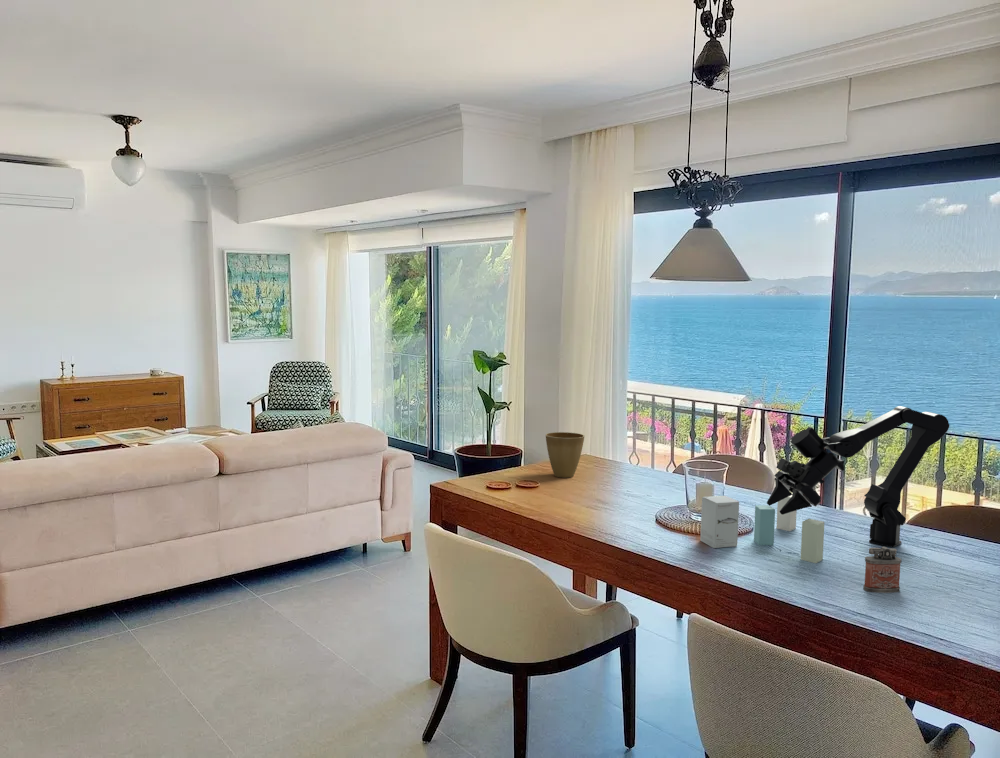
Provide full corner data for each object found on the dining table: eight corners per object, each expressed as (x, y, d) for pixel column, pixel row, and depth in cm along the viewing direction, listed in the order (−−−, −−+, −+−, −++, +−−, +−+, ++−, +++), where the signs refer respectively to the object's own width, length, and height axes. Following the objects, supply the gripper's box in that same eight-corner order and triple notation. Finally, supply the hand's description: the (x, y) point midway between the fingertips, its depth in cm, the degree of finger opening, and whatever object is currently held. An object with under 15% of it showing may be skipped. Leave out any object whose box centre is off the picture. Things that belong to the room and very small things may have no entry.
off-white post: (795, 528, 218) (797, 495, 217) (789, 531, 215) (791, 497, 214) (782, 525, 220) (784, 492, 220) (776, 528, 218) (777, 495, 217)
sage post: (822, 559, 190) (824, 521, 189) (816, 563, 187) (817, 524, 186) (807, 556, 193) (809, 518, 192) (800, 559, 190) (802, 521, 189)
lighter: (894, 587, 171) (897, 545, 171) (902, 592, 168) (905, 549, 167) (860, 587, 171) (862, 545, 170) (868, 592, 168) (870, 550, 167)
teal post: (768, 540, 206) (769, 505, 205) (773, 545, 202) (775, 509, 201) (753, 540, 206) (755, 505, 205) (759, 545, 202) (760, 509, 201)
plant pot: (586, 480, 278) (586, 438, 276) (546, 479, 277) (547, 437, 276) (581, 471, 292) (581, 431, 291) (543, 471, 292) (544, 431, 291)
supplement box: (714, 549, 198) (715, 502, 197) (699, 540, 205) (701, 496, 204) (738, 547, 200) (740, 501, 199) (723, 538, 207) (724, 494, 206)
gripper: (783, 442, 211) (742, 480, 212) (811, 455, 192) (767, 496, 193) (809, 470, 212) (768, 507, 212) (839, 485, 193) (795, 526, 194)
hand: (774, 508), depth 203 cm, fingers open, 9 cm apart
